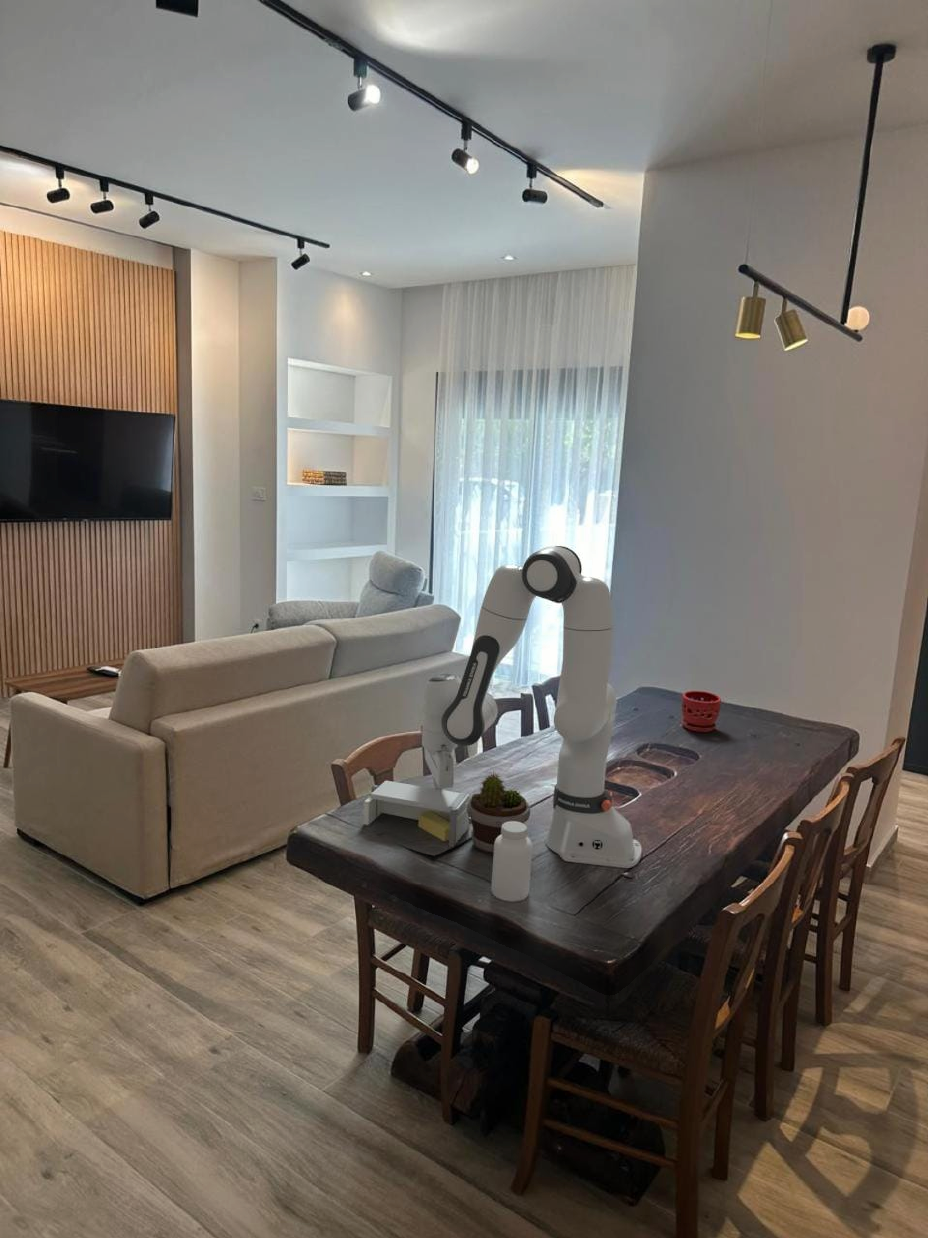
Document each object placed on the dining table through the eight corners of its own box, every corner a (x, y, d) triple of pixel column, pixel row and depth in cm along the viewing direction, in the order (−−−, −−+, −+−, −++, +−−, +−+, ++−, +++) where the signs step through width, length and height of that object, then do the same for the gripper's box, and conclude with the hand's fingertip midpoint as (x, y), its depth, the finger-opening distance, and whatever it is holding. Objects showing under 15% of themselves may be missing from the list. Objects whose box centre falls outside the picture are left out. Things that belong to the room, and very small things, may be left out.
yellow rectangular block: (455, 838, 197) (456, 825, 197) (444, 842, 195) (445, 829, 195) (429, 823, 205) (429, 811, 204) (418, 827, 203) (418, 814, 202)
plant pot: (672, 723, 295) (675, 691, 292) (703, 721, 299) (707, 689, 296) (692, 735, 282) (696, 701, 280) (725, 733, 286) (729, 700, 284)
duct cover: (468, 799, 203) (469, 793, 202) (457, 813, 194) (458, 808, 194) (378, 783, 209) (379, 778, 209) (364, 797, 201) (364, 791, 200)
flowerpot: (489, 826, 204) (493, 749, 200) (540, 847, 195) (546, 766, 191) (451, 846, 193) (455, 764, 189) (503, 868, 184) (509, 783, 180)
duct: (468, 828, 203) (470, 793, 201) (453, 846, 193) (455, 810, 191) (379, 810, 211) (380, 776, 209) (360, 827, 200) (361, 792, 199)
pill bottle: (497, 904, 169) (502, 836, 166) (486, 885, 176) (490, 819, 173) (534, 901, 171) (539, 833, 168) (521, 881, 178) (526, 816, 175)
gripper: (461, 753, 195) (458, 808, 197) (445, 725, 214) (442, 776, 217) (434, 754, 193) (432, 809, 196) (420, 726, 213) (418, 777, 216)
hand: (437, 791), depth 207 cm, fingers closed
